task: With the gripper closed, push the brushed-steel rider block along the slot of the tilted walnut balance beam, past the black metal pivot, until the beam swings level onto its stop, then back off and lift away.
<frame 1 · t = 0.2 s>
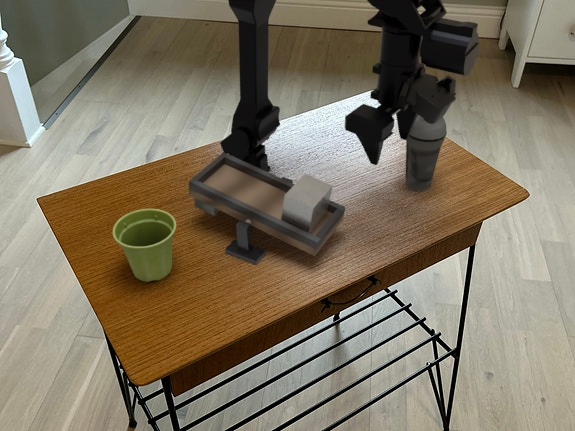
hand: (389, 151, 96), 14 cm above the table, fingers open, 9 cm apart
balance beam: (265, 207, 101), point 5 cm above the table, hinge at 8.2°, touching steel rider
beverage cup: (417, 185, 114), on the table
steel rider: (304, 218, 98), point 5 cm above the table, tilted 8°, touching balance beam
plant pot: (153, 269, 97), on the table
beam stand: (267, 229, 104), on the table
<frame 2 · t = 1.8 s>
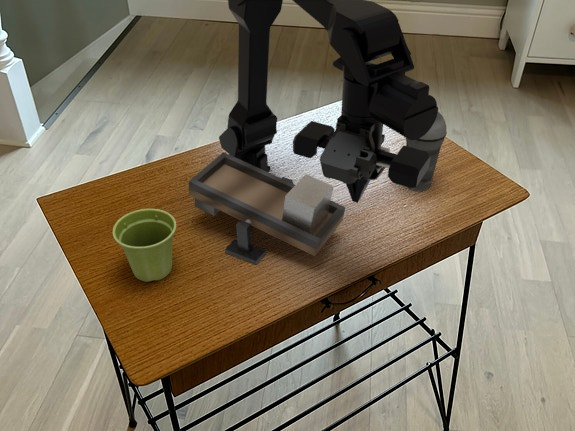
hand: (356, 200, 90), 12 cm above the table, fingers closed
nothing on the table moved.
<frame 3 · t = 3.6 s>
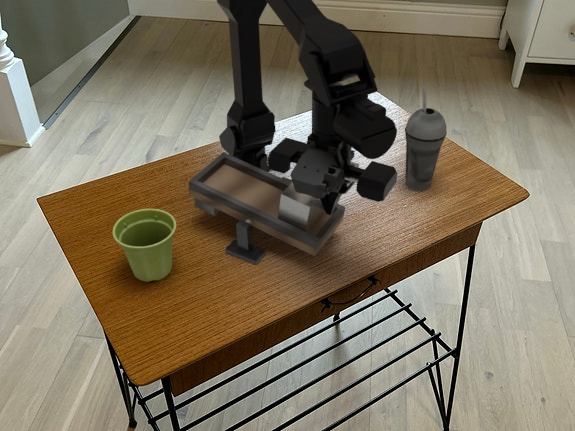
hand: (329, 213, 94), 8 cm above the table, fingers closed
steel rider: (300, 217, 98), point 5 cm above the table, tilted 8°, touching balance beam, gripper
everything else where it was.
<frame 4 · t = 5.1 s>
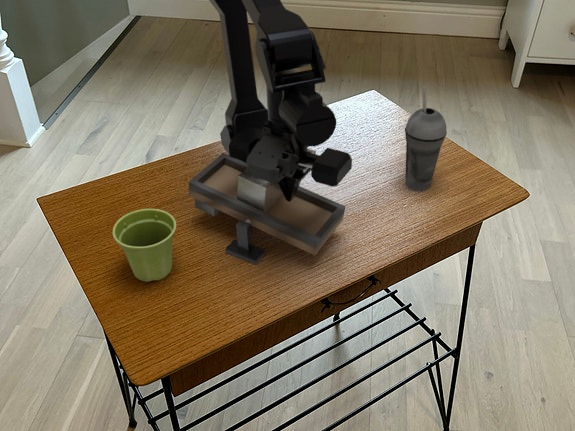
hand: (289, 200, 97), 8 cm above the table, fingers closed
balance beam: (265, 207, 101), point 5 cm above the table, hinge at 7.5°, touching steel rider
steel rider: (260, 199, 100), point 6 cm above the table, tilted 7°, touching balance beam, gripper
everything else where it was.
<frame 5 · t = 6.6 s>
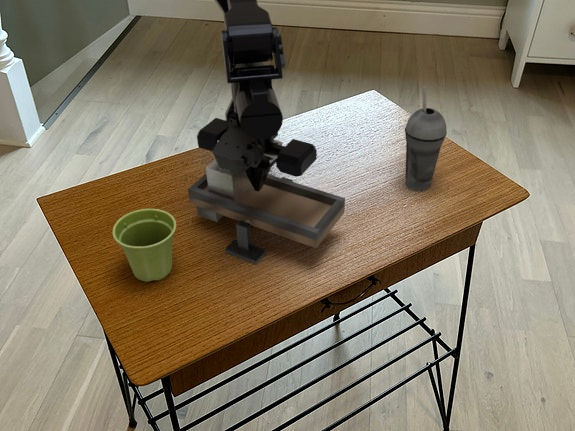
hand: (258, 189, 99), 8 cm above the table, fingers closed
balance beam: (266, 208, 101), point 5 cm above the table, hinge at -0.3°
steel rider: (232, 191, 102), point 6 cm above the table
everything else where it was.
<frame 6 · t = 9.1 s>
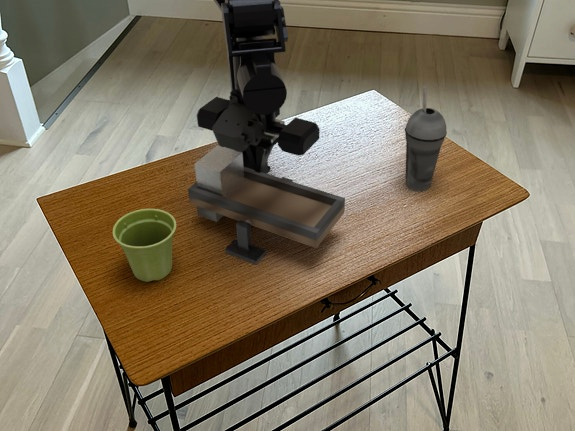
hand: (259, 171, 97), 12 cm above the table, fingers closed
balance beam: (266, 208, 101), point 5 cm above the table, hinge at -0.3°, touching steel rider
steel rider: (221, 187, 103), point 6 cm above the table, touching balance beam
everything else where it was.
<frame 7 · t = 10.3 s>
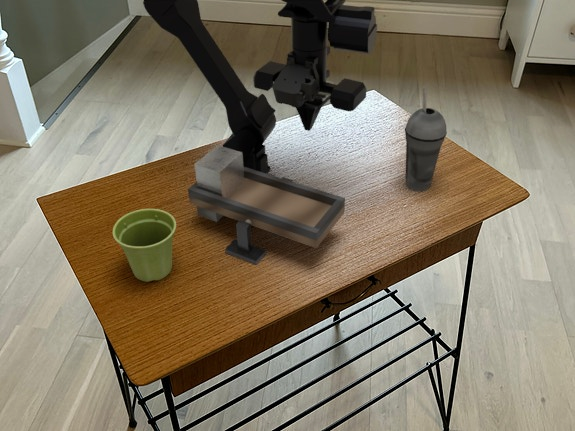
hand: (308, 129, 107), 12 cm above the table, fingers closed
nothing on the table moved.
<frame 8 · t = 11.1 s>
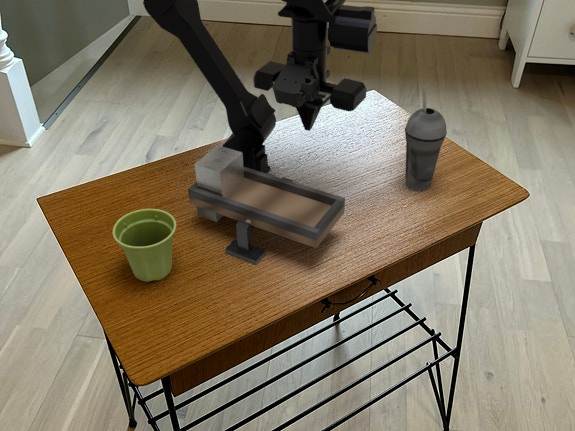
hand: (308, 129, 107), 12 cm above the table, fingers closed
nothing on the table moved.
at the end: balance beam at +0° (first picture: +8°); steel rider inside the target area on the balance beam (2.3 cm from its centre), point 0.7 cm above the balance beam's base; steel rider touching balance beam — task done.
